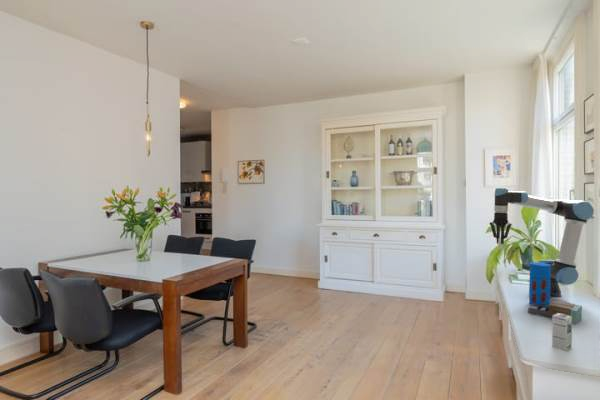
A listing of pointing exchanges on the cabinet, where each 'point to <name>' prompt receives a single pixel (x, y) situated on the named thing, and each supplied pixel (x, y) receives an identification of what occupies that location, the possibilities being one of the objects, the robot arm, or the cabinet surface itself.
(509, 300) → the cabinet surface
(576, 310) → the stop block
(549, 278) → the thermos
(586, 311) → the cabinet surface
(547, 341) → the cabinet surface
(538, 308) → the roller bed
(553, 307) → the slab
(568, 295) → the cabinet surface
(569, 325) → the syrup box
